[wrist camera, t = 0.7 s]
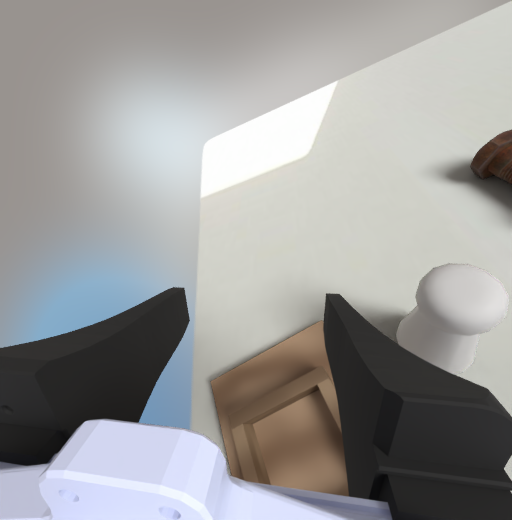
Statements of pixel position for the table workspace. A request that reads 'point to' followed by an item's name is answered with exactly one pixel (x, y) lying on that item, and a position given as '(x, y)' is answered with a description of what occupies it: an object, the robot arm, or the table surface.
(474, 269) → the salt shaker
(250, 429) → the socket board
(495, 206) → the table surface
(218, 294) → the table surface
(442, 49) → the table surface
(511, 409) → the table surface
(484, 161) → the bolt
